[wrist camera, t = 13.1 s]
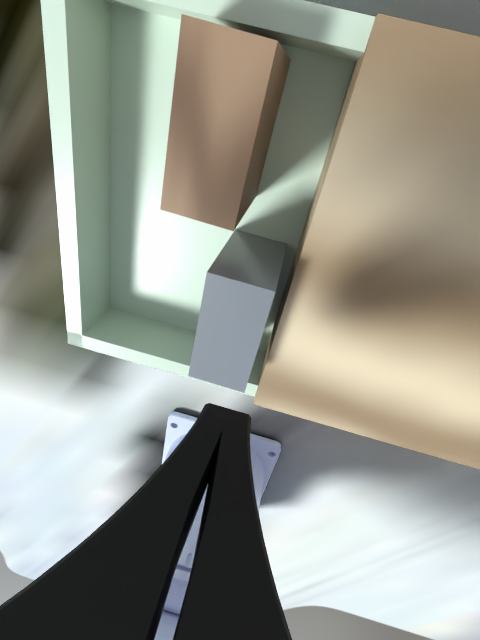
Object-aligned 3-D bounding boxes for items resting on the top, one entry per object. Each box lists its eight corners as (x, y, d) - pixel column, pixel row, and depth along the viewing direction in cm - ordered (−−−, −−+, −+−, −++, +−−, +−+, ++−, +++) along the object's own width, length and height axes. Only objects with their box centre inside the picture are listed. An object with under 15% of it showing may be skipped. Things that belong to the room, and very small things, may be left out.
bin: (263, 355, 21) (254, 397, 18) (102, 310, 21) (68, 343, 18) (362, 36, 13) (375, 17, 10) (98, -26, 13) (35, -63, 10)
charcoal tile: (244, 392, 15) (188, 375, 15) (260, 329, 19) (216, 316, 19) (275, 291, 12) (206, 272, 12) (287, 243, 17) (235, 229, 17)
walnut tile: (233, 231, 12) (160, 209, 12) (256, 196, 16) (202, 180, 16) (278, 40, 9) (181, 13, 9) (291, 60, 13) (225, 41, 13)
